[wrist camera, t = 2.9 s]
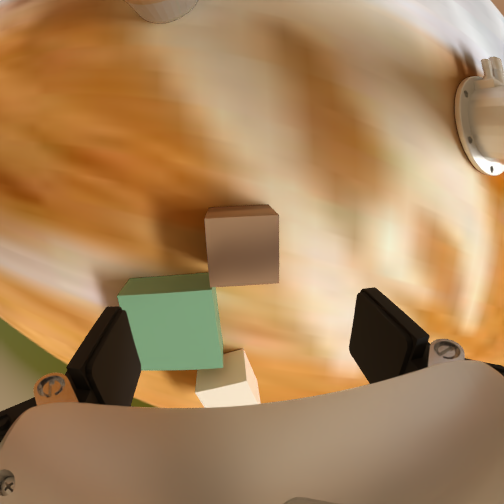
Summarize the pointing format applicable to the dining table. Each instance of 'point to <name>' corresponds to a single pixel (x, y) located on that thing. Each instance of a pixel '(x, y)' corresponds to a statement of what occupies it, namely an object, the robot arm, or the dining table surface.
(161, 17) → the coffee cup
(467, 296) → the dining table surface
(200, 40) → the dining table surface
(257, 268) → the walnut cube
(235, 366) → the cream cube
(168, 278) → the green base
